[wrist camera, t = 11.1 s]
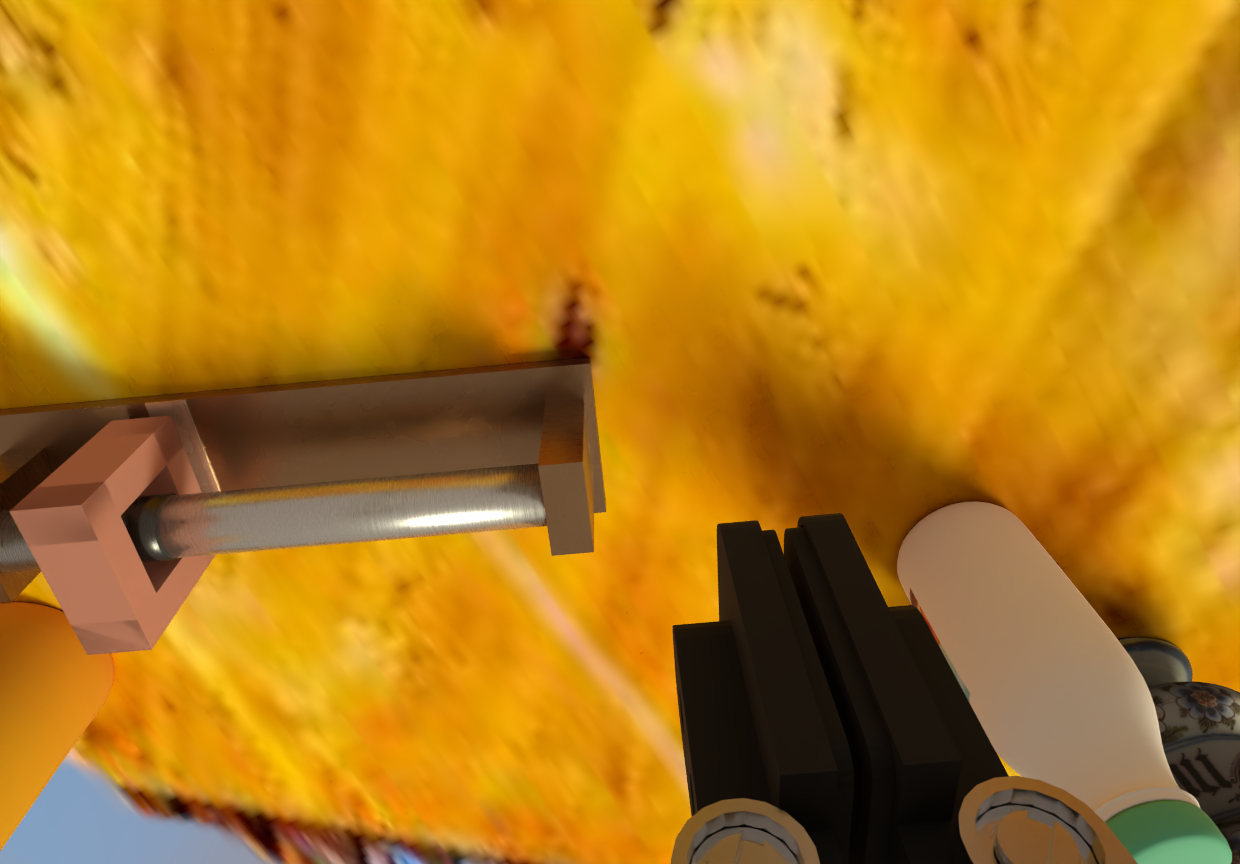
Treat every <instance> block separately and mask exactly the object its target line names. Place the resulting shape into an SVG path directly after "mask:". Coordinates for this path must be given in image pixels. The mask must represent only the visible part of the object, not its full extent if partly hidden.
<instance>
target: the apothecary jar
mask: <svg viewBox="0 0 1240 864" xmlns="http://www.w3.org/2000/svg"><path fill="white" fill-rule="evenodd" d="M1118 641H1119V642H1120V643H1121V645H1122V646H1123V647H1124V649H1125V650H1126V651H1127V653H1128V654H1129V655H1130V657H1131V658H1132V660H1133V661H1134V663H1135V665H1136V666H1137V668H1138V670H1139V671H1140V673H1141V675H1142V676H1143V678H1144V680H1145V682H1146V685H1147V687H1148V689H1149V691H1150V694H1151V696H1152V699H1153V702H1154V705H1155V709H1156V714H1157V718H1158V723H1159V729H1160V735H1161V740H1162V745H1163V750H1164V753H1165V756H1166V759H1167V762H1168V765H1169V767H1170V770H1171V773H1172V775H1173V777H1174V779H1175V781H1176V783H1177V785H1178V786H1179V788H1180V789H1181V790H1184V791H1186V792H1188V793H1189V794H1191V795H1192V796H1193V797H1195V799H1196V800H1197V801H1198V803H1199V805H1200V808H1201V810H1203V811H1204V812H1205V813H1206V814H1207V815H1208V816H1209V817H1210V819H1211V820H1212V821H1213V822H1214V823H1215V825H1216V826H1217V827H1218V829H1219V830H1220V832H1221V833H1222V834H1223V836H1224V837H1225V839H1226V840H1227V842H1228V844H1229V847H1230V849H1231V852H1232V862H1231V864H1240V693H1239V692H1237V691H1235V690H1232V689H1230V688H1227V687H1224V686H1220V685H1216V684H1210V683H1203V682H1192V668H1191V665H1190V662H1189V660H1188V657H1187V656H1186V655H1185V654H1184V652H1182V651H1181V650H1180V649H1179V648H1177V647H1176V646H1175V645H1173V644H1171V643H1169V642H1166V641H1163V640H1159V639H1154V638H1145V637H1134V638H1124V639H1119V640H1118Z"/></svg>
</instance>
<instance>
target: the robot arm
mask: <svg viewBox="0 0 1240 864" xmlns="http://www.w3.org/2000/svg"><path fill="white" fill-rule="evenodd" d="M717 558H718V592H719V622H707V623H695V624H683V625H673V644H674V659H675V672H676V684H677V695H678V706H679V715H680V724H681V733H682V741H683V749H684V757H685V765H686V774H687V782H688V790H689V798H690V806H691V815H692V817H691V818H690V819H689V820H687V822H686V823H685V825H684V826H683V828H682V830H681V831H680V833H679V834H678V836H677V838H676V841H675V845H674V849H673V853H672V858H671V864H1138V863H1137V862H1136V860H1135V859H1134V858H1133V857H1132V855H1131V854H1130V853H1129V852H1128V850H1127V849H1126V848H1125V847H1124V845H1123V844H1122V843H1121V842H1120V840H1119V839H1118V838H1117V837H1116V835H1115V834H1114V833H1113V832H1112V830H1111V829H1110V828H1109V827H1108V825H1107V824H1106V823H1105V822H1104V821H1103V820H1102V819H1101V818H1100V817H1099V816H1098V815H1097V814H1096V813H1095V812H1094V811H1093V810H1092V809H1091V808H1090V807H1089V806H1088V805H1087V804H1085V803H1084V802H1082V801H1081V800H1079V799H1078V798H1076V797H1075V796H1073V795H1072V794H1070V793H1068V792H1067V791H1065V790H1063V789H1061V788H1059V787H1056V786H1054V785H1051V784H1049V783H1046V782H1044V781H1041V780H1037V779H1031V778H1025V777H1020V776H1008V774H1007V772H1006V770H1005V768H1004V766H1003V765H1002V763H1001V761H1000V759H999V757H998V755H997V753H996V751H995V750H994V748H993V746H992V744H991V742H990V740H989V738H988V737H987V735H986V733H985V731H984V729H983V727H982V725H981V723H980V722H979V720H978V718H977V716H976V714H975V712H974V710H973V708H972V707H971V705H970V703H969V701H968V699H967V697H966V695H965V693H964V692H963V690H962V688H961V686H960V684H959V682H958V680H957V679H956V677H955V675H954V673H953V671H952V669H951V667H950V665H949V664H948V662H947V660H946V658H945V656H944V654H943V652H942V650H941V649H940V647H939V645H938V643H937V641H936V639H935V637H934V636H933V634H932V632H931V630H930V628H929V626H928V624H927V622H926V621H925V619H924V617H923V615H922V614H921V613H920V611H919V610H918V609H917V608H916V607H915V606H913V605H908V606H896V607H888V606H887V604H886V602H885V600H884V598H883V596H882V594H881V592H880V590H879V588H878V586H877V584H876V582H875V579H874V577H873V575H872V573H871V571H870V569H869V567H868V565H867V563H866V561H865V559H864V557H863V555H862V553H861V551H860V549H859V546H858V544H857V542H856V540H855V538H854V536H853V534H852V532H851V530H850V528H849V526H848V524H847V522H846V520H845V518H844V516H843V515H842V514H840V513H838V514H827V515H815V516H803V517H800V518H799V520H798V527H797V528H788V529H786V530H785V533H784V554H783V552H782V549H781V546H780V543H779V540H778V537H777V534H776V532H775V530H764V531H762V530H761V527H760V524H759V522H758V521H745V522H733V523H722V524H718V525H717Z"/></svg>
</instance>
